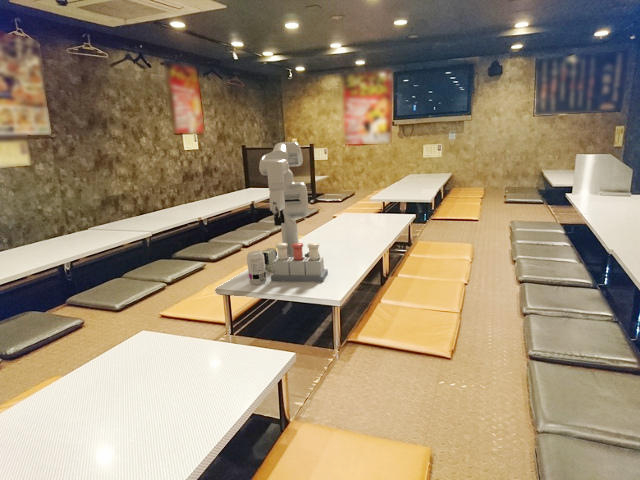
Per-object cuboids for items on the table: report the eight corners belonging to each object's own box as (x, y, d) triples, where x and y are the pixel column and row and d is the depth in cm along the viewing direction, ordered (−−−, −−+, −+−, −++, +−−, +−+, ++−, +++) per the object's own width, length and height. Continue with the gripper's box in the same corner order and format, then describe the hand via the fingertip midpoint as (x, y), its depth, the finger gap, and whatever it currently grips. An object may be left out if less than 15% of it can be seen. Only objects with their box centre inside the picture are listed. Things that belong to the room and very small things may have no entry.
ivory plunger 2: (310, 258, 209) (309, 242, 207) (321, 258, 208) (320, 242, 206) (307, 262, 204) (306, 245, 202) (318, 262, 202) (317, 245, 200)
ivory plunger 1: (279, 258, 212) (277, 242, 210) (289, 258, 211) (288, 242, 209) (275, 262, 207) (274, 245, 205) (286, 262, 206) (285, 245, 204)
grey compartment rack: (278, 273, 218) (276, 255, 216) (327, 273, 212) (326, 255, 210) (271, 281, 207) (269, 262, 204) (323, 282, 201) (321, 263, 199)
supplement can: (246, 284, 204) (243, 254, 201) (256, 279, 211) (253, 250, 208) (260, 286, 201) (256, 256, 197) (269, 280, 208) (267, 251, 204)
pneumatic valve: (278, 267, 228) (276, 245, 225) (267, 274, 218) (265, 251, 215) (269, 266, 231) (267, 245, 228) (258, 273, 220) (256, 251, 217)
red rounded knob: (294, 258, 211) (293, 242, 209) (305, 258, 209) (304, 242, 207) (291, 262, 205) (290, 245, 203) (302, 262, 204) (301, 245, 202)
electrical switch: (314, 269, 221) (311, 252, 219) (305, 269, 223) (303, 252, 222) (322, 264, 229) (320, 247, 227) (314, 264, 231) (311, 248, 230)
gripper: (274, 184, 209) (277, 220, 214) (263, 189, 193) (266, 228, 197) (289, 184, 208) (292, 220, 212) (278, 188, 191) (282, 228, 196)
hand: (279, 223), depth 205 cm, fingers open, 4 cm apart
